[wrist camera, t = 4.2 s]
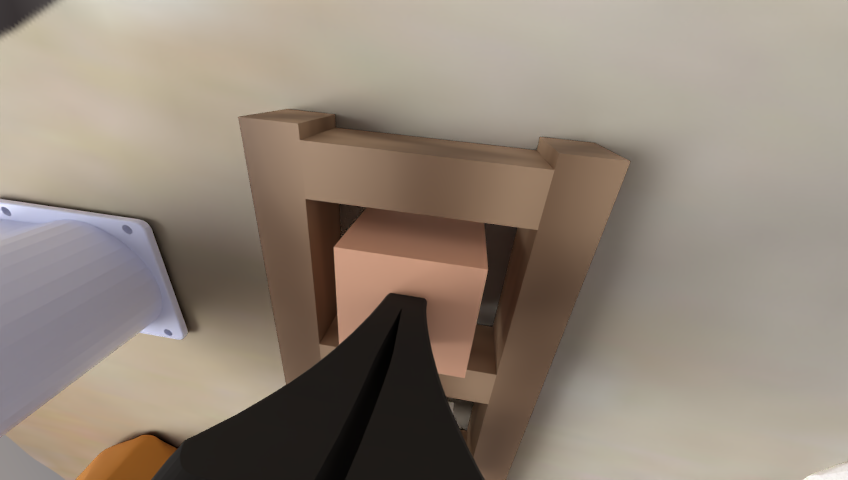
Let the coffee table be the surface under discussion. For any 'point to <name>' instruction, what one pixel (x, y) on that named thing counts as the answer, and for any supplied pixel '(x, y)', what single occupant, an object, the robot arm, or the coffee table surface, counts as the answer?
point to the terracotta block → (415, 276)
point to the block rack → (443, 197)
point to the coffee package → (129, 460)
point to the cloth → (831, 473)
